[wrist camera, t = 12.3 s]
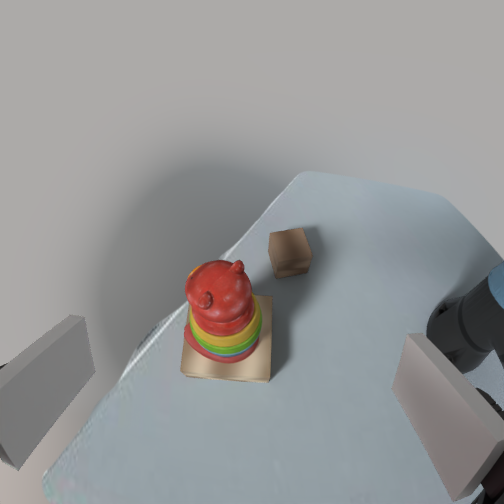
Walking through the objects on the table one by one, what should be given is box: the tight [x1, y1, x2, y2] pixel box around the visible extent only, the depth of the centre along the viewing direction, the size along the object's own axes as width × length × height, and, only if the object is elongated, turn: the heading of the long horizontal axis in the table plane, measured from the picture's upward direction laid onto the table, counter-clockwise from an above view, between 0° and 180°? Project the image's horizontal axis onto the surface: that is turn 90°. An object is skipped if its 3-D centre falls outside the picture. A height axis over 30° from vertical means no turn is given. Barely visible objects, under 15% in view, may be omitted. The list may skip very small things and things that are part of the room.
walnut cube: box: [268, 228, 313, 279], centre depth 55 cm, size 6×6×6 cm
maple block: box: [180, 295, 272, 383], centre depth 47 cm, size 13×13×5 cm
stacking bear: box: [184, 260, 262, 364], centre depth 37 cm, size 11×10×18 cm
